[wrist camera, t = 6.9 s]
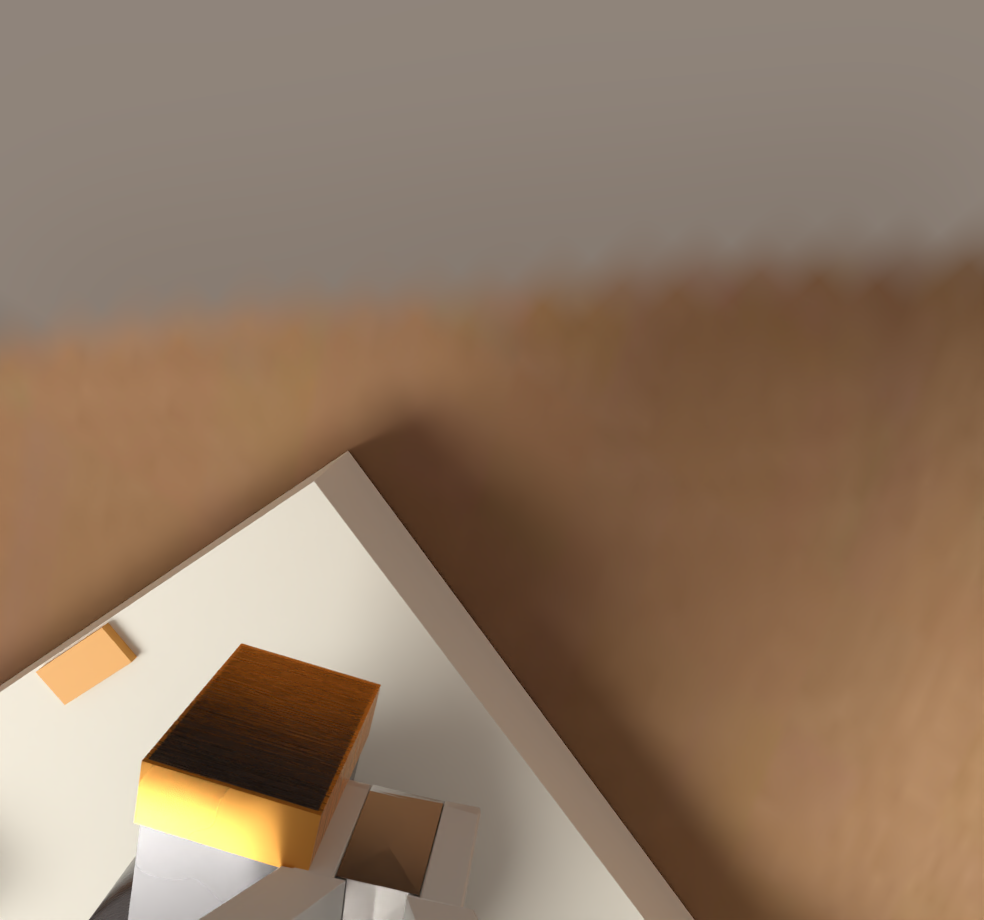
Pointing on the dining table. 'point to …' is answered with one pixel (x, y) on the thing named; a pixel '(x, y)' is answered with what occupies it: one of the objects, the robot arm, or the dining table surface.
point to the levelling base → (329, 644)
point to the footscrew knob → (241, 784)
